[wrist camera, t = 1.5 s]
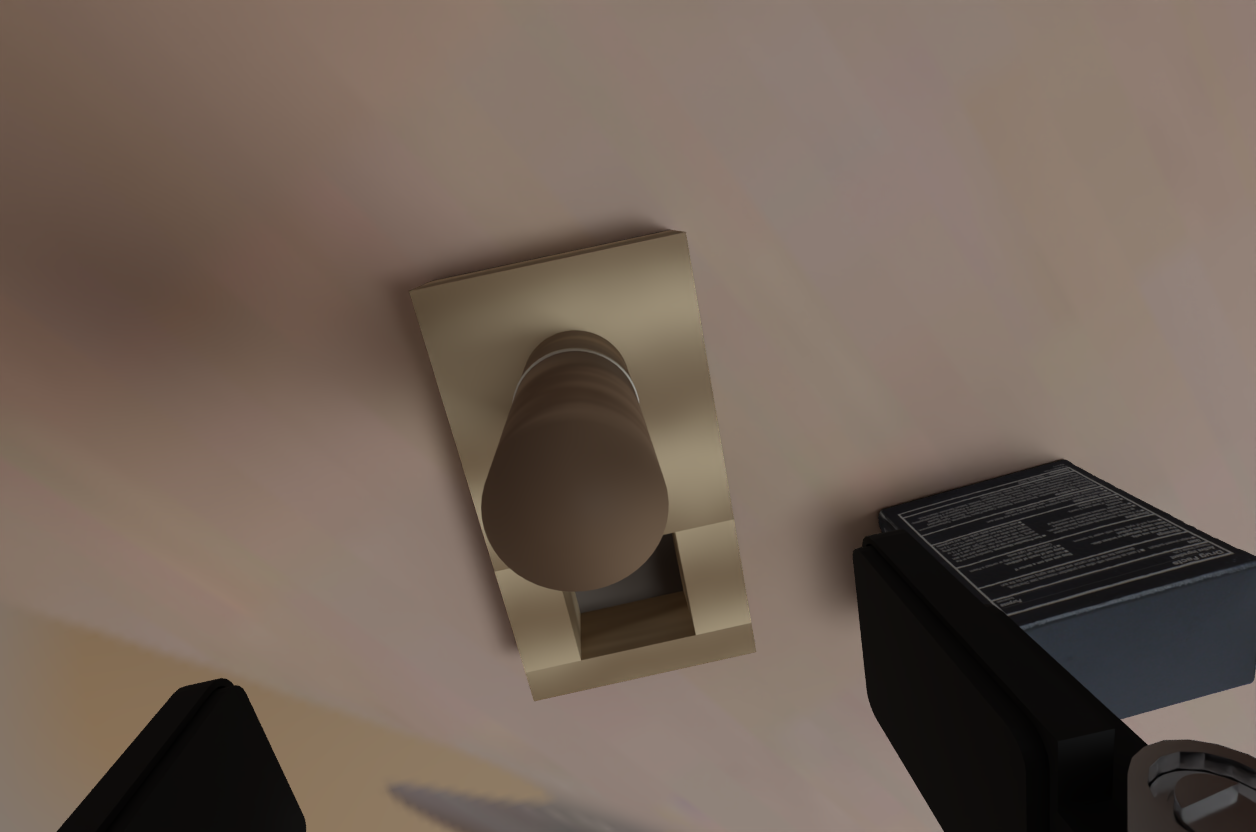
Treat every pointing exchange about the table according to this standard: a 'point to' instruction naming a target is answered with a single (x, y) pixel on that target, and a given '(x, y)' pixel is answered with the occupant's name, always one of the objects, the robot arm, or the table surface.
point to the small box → (1098, 582)
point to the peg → (575, 471)
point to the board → (678, 427)
